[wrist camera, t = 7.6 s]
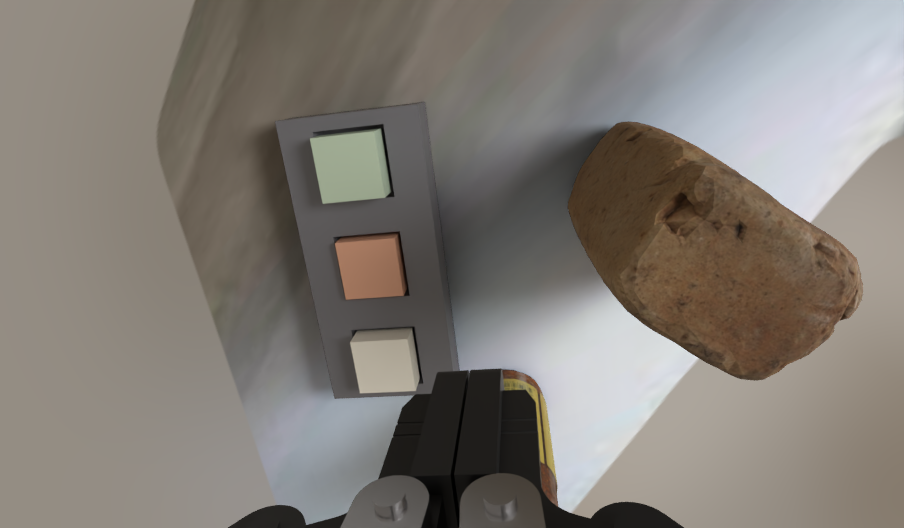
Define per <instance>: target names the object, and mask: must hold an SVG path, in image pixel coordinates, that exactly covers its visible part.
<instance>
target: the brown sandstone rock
mask: <svg viewBox="0 0 904 528" xmlns="http://www.w3.org/2000/svg"><path fill="white" fill-rule="evenodd" d="M568 210H569V214H570V217H571V220H572V223H573V226H574V228H575V231H576V233H577V235H578V237H579V239H580V241H581V244H582V246H583V247H584V249H585V251H586V253H587V255H588V257H589V258H590V260H591V261H592V263H593V265H594V267H595V268H596V270H597V272H598V273H599V275H600V276H601V278H602V280H603V282H604V283H605V284H606V285H607V287H608V288H609V289H610V291H611V292H612V294H613V295H614V296H615V297H616V298H617V299H618V301H619V302H620V303H621V304H622V305H623V307H624V308H625V309H626V310H627V311H628V312H629V313H631V314H632V315H633V316H634V317H636V318H637V319H638V320H639V321H640V322H642V323H643V324H645V325H646V326H647V327H649V328H650V329H652V330H653V331H655V332H657V333H659V334H661V335H662V336H664V337H666V338H668V339H670V340H671V341H673V342H675V343H677V344H678V345H680V346H681V347H682V348H684V349H685V350H687V351H688V352H690V353H691V354H693V355H695V356H696V357H698V358H700V359H701V360H703V361H705V362H706V363H708V364H710V365H712V366H715V367H717V368H719V369H720V370H722V371H724V372H726V373H728V374H730V375H732V376H734V377H737V378H740V379H746V380H763V379H765V378H767V377H769V376H771V375H773V374H775V373H777V372H779V371H780V370H781V369H782V368H784V367H785V366H786V365H787V364H789V363H792V362H794V361H796V360H798V359H801V358H803V357H804V356H807V355H809V354H810V353H811V352H812V351H813V350H815V349H816V348H817V347H818V346H820V345H821V344H822V343H823V342H825V341H826V340H827V339H828V338H829V337H830V336H831V335H832V333H833V332H834V325H835V324H836V323H837V322H838V321H839V320H843V319H847V318H849V317H850V316H851V315H852V314H853V313H854V312H855V311H856V309H857V308H858V306H859V304H860V302H861V300H862V293H863V283H862V281H861V273H860V270H859V266H858V262H857V259H856V258H855V257H854V256H853V255H852V253H851V252H850V251H848V249H847V248H846V247H845V246H844V245H843V244H841V243H840V242H839V241H837V240H836V239H834V238H833V237H831V236H830V235H829V234H827V233H826V232H824V231H822V230H821V229H819V228H817V227H816V226H814V225H812V224H811V223H809V222H808V221H806V220H804V219H803V218H801V217H800V216H798V215H797V214H795V213H794V212H792V211H791V210H789V209H788V208H786V207H785V206H783V205H782V204H780V203H779V202H778V201H777V200H776V199H774V198H773V197H772V196H771V195H770V194H768V193H767V192H765V191H764V190H763V189H761V188H760V187H758V186H757V185H755V184H754V183H752V182H751V181H749V180H748V179H746V178H745V177H743V176H742V175H740V174H739V173H738V172H737V171H735V170H733V169H732V168H730V167H729V166H727V165H726V164H724V163H722V162H721V161H719V160H718V159H716V158H715V157H713V156H711V155H710V154H708V153H706V152H705V151H703V150H702V149H700V148H698V147H697V146H695V145H693V144H691V143H689V142H687V141H685V140H683V139H681V138H679V137H677V136H675V135H673V134H670V133H668V132H666V131H663V130H661V129H658V128H655V127H652V126H649V125H645V124H641V123H638V122H621V123H617V124H616V125H615V126H613V127H612V128H611V129H610V130H609V131H608V133H607V134H606V135H605V136H604V137H603V138H602V139H601V140H600V141H599V143H598V144H597V145H596V147H595V148H594V150H593V151H592V153H591V154H590V155H589V156H588V158H587V159H586V161H585V162H584V164H583V165H582V167H581V169H580V171H579V173H578V175H577V178H576V180H575V183H574V186H573V190H572V193H571V196H570V198H569V201H568Z"/></svg>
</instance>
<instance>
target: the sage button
mask: <svg viewBox="0 0 904 528" xmlns="http://www.w3.org/2000/svg"><path fill="white" fill-rule="evenodd" d="M310 142H311V147H312V152H313V157H314V163H315V168H316V173H317V178H318V183H319V188H320V193H321V198H322V203H323V204H325V203H336V202H346V201H356V200H367V199H377V198H385V197H386V196H387V195H388V194H389V193H390V192H391V187H390V180H389V174H388V167H387V161H386V155H385V148H384V142H383V135H382V129H381V128H380V129H371V130H362V131H354V132H345V133H336V134H328V135H320V136H316V137H313V138H310Z"/></svg>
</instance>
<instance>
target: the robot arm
mask: <svg viewBox="0 0 904 528" xmlns="http://www.w3.org/2000/svg"><path fill="white" fill-rule="evenodd" d="M397 423H398V425H396V428H395V431H394V434H393V438H392V440H391V443H390V446H389V449H388V452H387V455H386V458H385V461H384V464H383V467H382V470H381V473H380V476H379V478H378V480H376V481H374V482H372V483H370V484H368V485H367V486H366V487H364V488H363V489H362V490H361V491H360V492H359V493H358V494H357V495H356V497H355V499H354V500H353V502H352V504H351V506H350V509H349V511H348V513H346V514H344V515H341V516H338V517H335V518H332V519H328V520H324V521H320V522H317V523H313V524H309V525H306V523H305V519H304V517H303V515H302V513H301V512H300V511H299V510H297V509H296V508H294V507H291V506H286V505H275V506H270V507H265V508H262V509H259V510H257V511H255V512H253V513H251V514H249V515H247V516H245V517H244V518H242V519H241V520H239V521H238V522H236V523H235V524H233V525H231V526H230V527H228V528H684V527H682V526H681V525H679V524H678V523H676V522H675V521H673V520H672V519H671V518H669V517H668V516H667V515H665V514H663V513H662V512H660V511H659V510H657V509H655V508H652V507H650V506H647V505H644V504H640V503H634V502H619V503H613V504H610V505H607V506H605V507H603V508H601V509H600V510H599V511H597V512H596V513H595V514H594V515H593V516H592V518H591V519H590V518H586V517H582V516H578V515H575V514H572V513H569V512H567V511H565V510H562V509H561V508H559V507H558V506H556V505H555V504H554V503H552V502H551V501H550V500H549V499H548V498H547V496H546V495H545V493H544V492H543V489H542V477H541V461H540V448H539V436H538V423H537V411H536V402H535V401H534V399H533V398H532V397H531V396H530V394H529V393H528V392H527V390H526V389H524V390H504V380H503V372H502V369H484V370H471V371H470V373H469V371H468V370H466V371H445V372H437V374H436V378H435V382H434V385H433V389H432V393H431V394H415V395H414V396H413V398H412V399H411V400H410V401H409V402H408V403H407V404H406V405H405V406H404V407H403V408H402V411H401V414H400V417H399V420H398V422H397Z"/></svg>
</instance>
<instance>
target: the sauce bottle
mask: <svg viewBox="0 0 904 528" xmlns="http://www.w3.org/2000/svg"><path fill="white" fill-rule="evenodd" d="M502 372H503V380H504V390H524V389H526V390H527V392H528V393H529V394H530V396H531V397H532V398H533V399H534V401H535V402H536V411H537V423H538V436H539V448H540V461H541V477H542V489H543V492H544V493H545V495H546V496H547V498H548V499H549V500H550V501H551V502H552V503H554V504H555V505H556V506H558V501H557V480H556V473H555V466H554V458H553V451H552V443H551V436H550V428H549V421H548V414H547V407H546V402H545V399H544V397H543V394H542V392H541V390H540V388H539V386H538V384H537V383H536V382H535V380H534V379H532V378H531V377H530V376H528V375H526V374H524V373H520V372H517V371H514V370H502Z"/></svg>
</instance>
